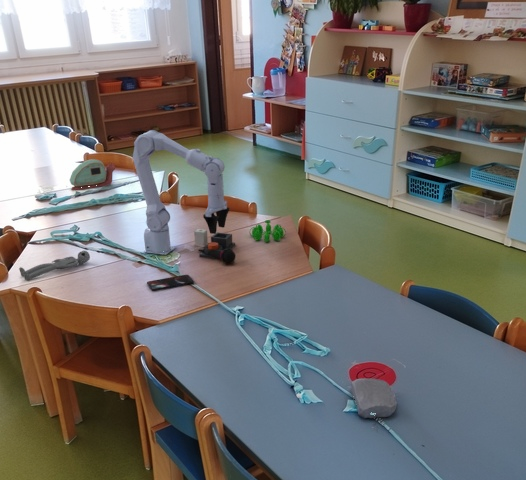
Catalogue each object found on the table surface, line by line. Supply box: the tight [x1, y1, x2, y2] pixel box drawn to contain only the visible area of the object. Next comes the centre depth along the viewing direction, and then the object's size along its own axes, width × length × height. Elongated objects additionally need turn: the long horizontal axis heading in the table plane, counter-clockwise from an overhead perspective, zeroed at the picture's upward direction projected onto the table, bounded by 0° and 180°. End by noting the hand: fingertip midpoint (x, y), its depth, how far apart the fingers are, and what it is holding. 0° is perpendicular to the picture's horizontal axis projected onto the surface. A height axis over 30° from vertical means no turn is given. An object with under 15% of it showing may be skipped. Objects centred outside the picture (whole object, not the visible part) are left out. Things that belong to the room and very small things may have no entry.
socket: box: [210, 231, 233, 248], centre depth 226 cm, size 6×6×5 cm
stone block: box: [350, 377, 398, 419], centre depth 137 cm, size 12×5×10 cm
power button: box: [207, 241, 218, 250], centre depth 219 cm, size 4×4×2 cm
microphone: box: [198, 248, 236, 265], centre depth 217 cm, size 6×6×20 cm
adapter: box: [199, 241, 236, 261], centre depth 224 cm, size 8×16×3 cm, turn 159°
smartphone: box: [146, 274, 195, 291], centre depth 198 cm, size 7×1×15 cm
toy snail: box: [69, 158, 116, 191], centre depth 304 cm, size 25×8×14 cm, turn 122°
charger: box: [193, 228, 209, 248], centre depth 229 cm, size 4×3×6 cm
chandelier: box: [249, 220, 287, 243], centre depth 235 cm, size 15×15×7 cm
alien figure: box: [18, 249, 91, 281], centre depth 208 cm, size 8×5×25 cm
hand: (217, 230), depth 216 cm, fingers open, 7 cm apart
